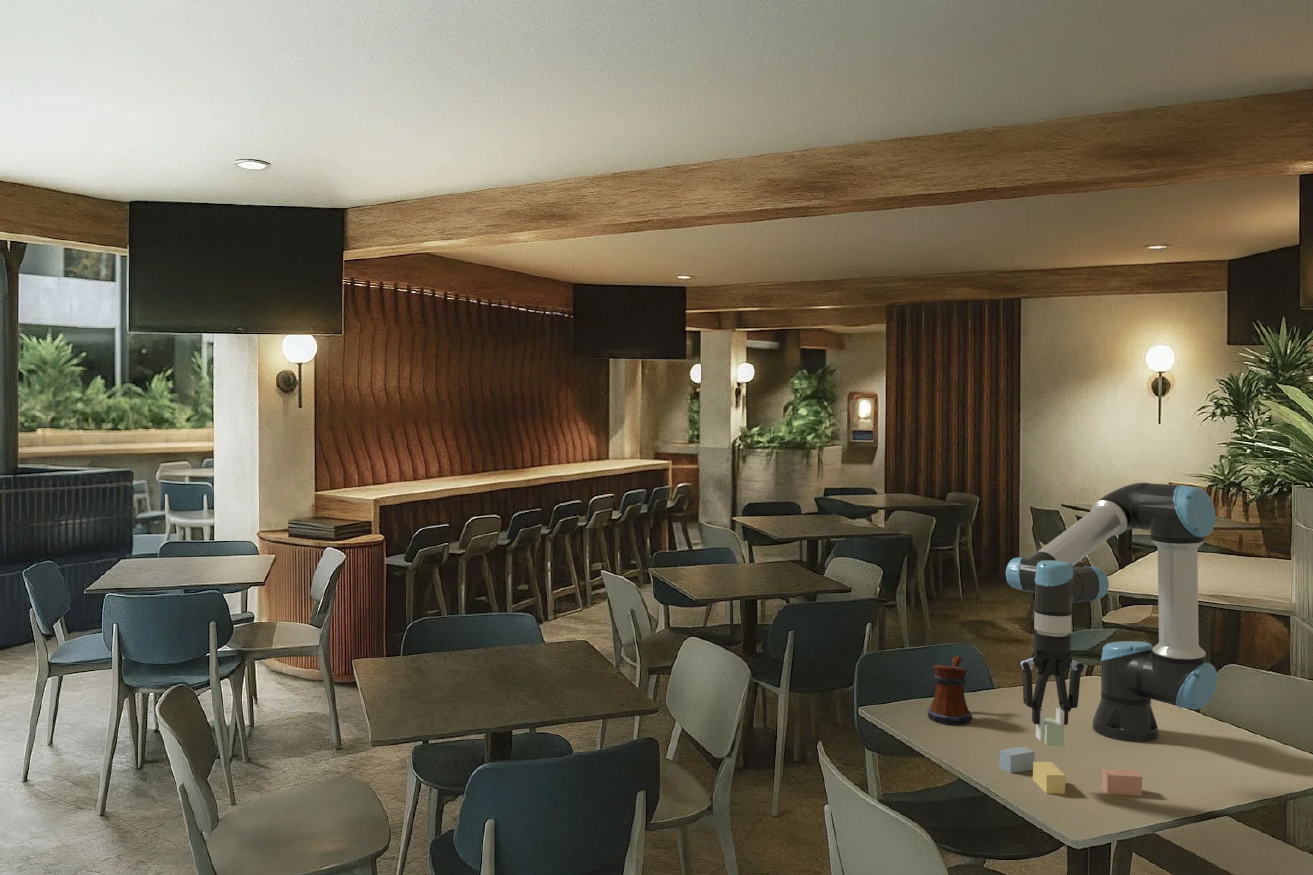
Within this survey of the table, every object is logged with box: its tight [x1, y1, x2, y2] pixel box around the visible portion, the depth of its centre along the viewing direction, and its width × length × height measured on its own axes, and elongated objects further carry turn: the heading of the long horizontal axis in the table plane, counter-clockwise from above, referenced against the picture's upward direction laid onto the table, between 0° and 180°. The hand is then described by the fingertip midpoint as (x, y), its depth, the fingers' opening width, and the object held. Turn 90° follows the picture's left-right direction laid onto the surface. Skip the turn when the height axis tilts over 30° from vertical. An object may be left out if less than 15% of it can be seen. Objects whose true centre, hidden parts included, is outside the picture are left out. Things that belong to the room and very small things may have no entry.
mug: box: [926, 655, 973, 726], centre depth 269 cm, size 18×12×15 cm, turn 154°
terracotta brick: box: [1101, 768, 1143, 796], centre depth 217 cm, size 7×4×4 cm, turn 84°
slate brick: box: [998, 746, 1036, 774], centre depth 230 cm, size 7×4×4 cm, turn 113°
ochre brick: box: [1032, 761, 1066, 795], centre depth 219 cm, size 8×4×4 cm, turn 179°
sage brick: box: [1041, 717, 1065, 747], centre depth 218 cm, size 6×4×4 cm, turn 179°
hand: (1049, 738), depth 218 cm, fingers closed on sage brick, 4 cm apart
